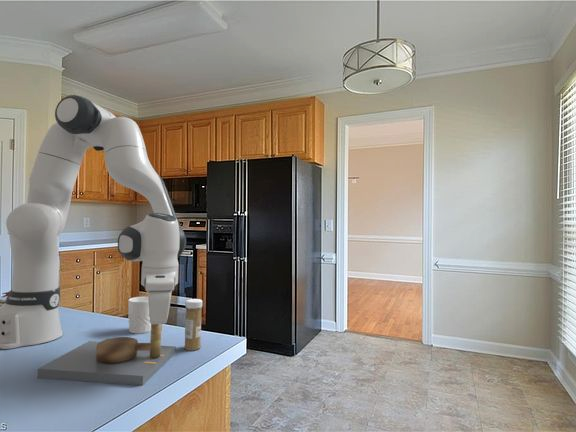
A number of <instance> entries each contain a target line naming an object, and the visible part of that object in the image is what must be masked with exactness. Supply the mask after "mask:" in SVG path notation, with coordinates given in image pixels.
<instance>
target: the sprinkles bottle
mask: <svg viewBox="0 0 576 432" xmlns="http://www.w3.org/2000/svg"><path fill="white" fill-rule="evenodd" d="M202 308H203V300H202V299H200V298H190V299H186V300H185V323H184V349H185V350H187V351H197V350H199V349H200V348H201V340H202V339H201V336H202Z"/></svg>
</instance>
